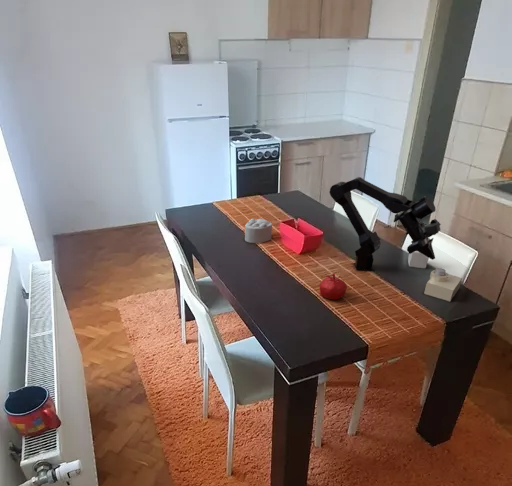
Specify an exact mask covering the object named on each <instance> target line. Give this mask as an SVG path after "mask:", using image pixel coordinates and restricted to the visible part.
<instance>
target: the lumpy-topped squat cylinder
mask: <svg viewBox="0 0 512 486" xmlns="http://www.w3.org/2000/svg"><path fill="white" fill-rule="evenodd" d="M272 233H273V223H272V222H270V221H268V220H266V219H264V218H257V219H256V218H250V219H249V221H248V222H246V223H245V226H244V242H246V243H250V244H261V243H266V242H268V241H271V240H272V236H273V235H272Z"/></svg>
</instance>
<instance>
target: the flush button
mask: <svg viewBox="0 0 512 486" xmlns="http://www.w3.org/2000/svg"><path fill="white" fill-rule="evenodd" d="M435 270H436V272H435V274H436V275H438V276H445V272H446V273H447V270H446V269H445V268H443V267H437V268H436V269H435Z"/></svg>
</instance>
